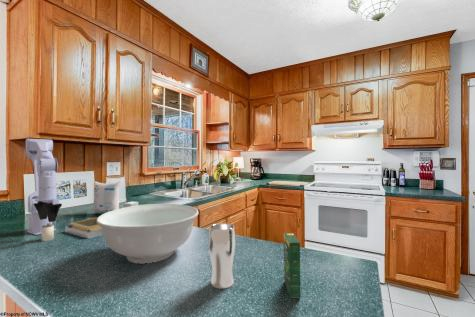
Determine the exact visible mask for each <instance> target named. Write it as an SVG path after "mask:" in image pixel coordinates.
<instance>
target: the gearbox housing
mask: <svg viewBox="0 0 475 317" xmlns="http://www.w3.org/2000/svg"><path fill="white" fill-rule="evenodd" d="M98 217H99V216H98ZM98 217H94V218H93V217H92V218H88V219H84V220H83V219H82V220H80V221H74V222H70V224H68V225H66V226H65V227H64V230H65V234H70V235H74V236H77V237H81V238H84V239H91V238H95V237H98V236H101V235H103V231H102V228H101V227H100V226H99V225H98V224H97V218H98Z"/></svg>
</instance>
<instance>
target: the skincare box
mask: <svg viewBox="0 0 475 317" xmlns="http://www.w3.org/2000/svg"><path fill="white" fill-rule="evenodd" d="M137 205H139V201H128V202H127V201H126V202H124V203H122V206H123V207H122V208H125V207H130V206H137Z"/></svg>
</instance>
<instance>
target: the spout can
mask: <svg viewBox="0 0 475 317" xmlns="http://www.w3.org/2000/svg"><path fill="white" fill-rule="evenodd" d="M41 228H42V234H41V242H48V241H53V240H54V239H55V231H54V229H55V225H54V224H53V223H52V224H51V223H48V224H47V225H44V226H42V227H41Z"/></svg>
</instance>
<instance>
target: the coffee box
mask: <svg viewBox="0 0 475 317" xmlns="http://www.w3.org/2000/svg"><path fill="white" fill-rule="evenodd" d="M283 269H284V272H283V273H284V275H283V276H284V277H283V278H284V279H283V280H284V284H285V287H286V290H287V294H288V297H289V298H293V299H295V298H296V299H299V298H301V242H300V241H299V240H298V238H297V237H296V235H295V234H294V233H292V232H288V233H287V232H285V233H283Z"/></svg>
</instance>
